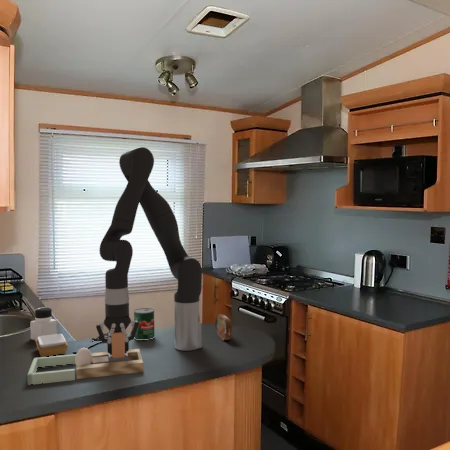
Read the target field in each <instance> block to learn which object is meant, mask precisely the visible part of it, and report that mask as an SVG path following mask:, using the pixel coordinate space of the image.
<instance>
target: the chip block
mask: <svg viewBox="0 0 450 450" xmlns="http://www.w3.org/2000/svg"><path fill="white" fill-rule="evenodd" d="M102 363H109V359H108V356H105V357H96V358H92V364H102Z"/></svg>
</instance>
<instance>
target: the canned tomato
mask: <svg viewBox="0 0 450 450" xmlns="http://www.w3.org/2000/svg"><path fill="white" fill-rule="evenodd" d="M133 320H134V321H135V320H137V321H138V323H139V325H138V328H137V331H136V334H135V338H136V339H150V338H153V337H154V336H155V334H156V332H155V309H154V308H152V307H142V308H141V307H140V308H135V309H134V310H133Z"/></svg>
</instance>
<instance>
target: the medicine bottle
mask: <svg viewBox="0 0 450 450" xmlns="http://www.w3.org/2000/svg"><path fill="white" fill-rule="evenodd" d="M52 311H53V310H52V308H50V307H48V306H47V307H46V306H45V307H39V308H36V309H35V310H34V319H35V320H30V325H29V326H30V328H29V329H30V339H31V340H33V341H35V340H38V337H39V336H46V335H54V334H58V320H57V319H54V318H53V317H52V316H53V315H52V313H53V312H52Z"/></svg>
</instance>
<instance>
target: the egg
mask: <svg viewBox="0 0 450 450" xmlns="http://www.w3.org/2000/svg"><path fill="white" fill-rule="evenodd" d="M89 349H90V348H89ZM89 349H88V348H85V347H83V348H81V349H79V350H78V352H77V353H76V357H75V364H74V365H75V367H77V366H82V365H91V364H92V354H91V353H92V352H91V350H89Z"/></svg>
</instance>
